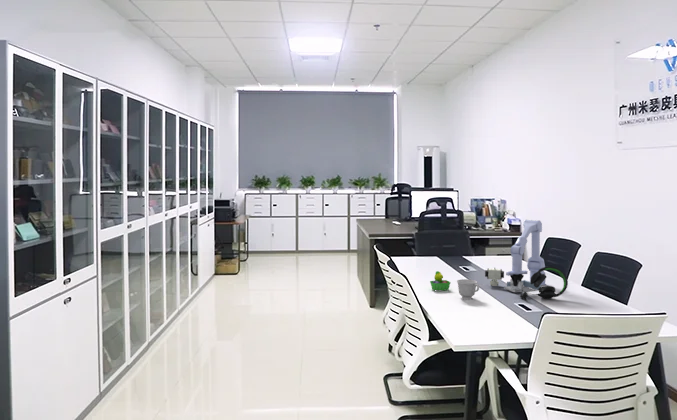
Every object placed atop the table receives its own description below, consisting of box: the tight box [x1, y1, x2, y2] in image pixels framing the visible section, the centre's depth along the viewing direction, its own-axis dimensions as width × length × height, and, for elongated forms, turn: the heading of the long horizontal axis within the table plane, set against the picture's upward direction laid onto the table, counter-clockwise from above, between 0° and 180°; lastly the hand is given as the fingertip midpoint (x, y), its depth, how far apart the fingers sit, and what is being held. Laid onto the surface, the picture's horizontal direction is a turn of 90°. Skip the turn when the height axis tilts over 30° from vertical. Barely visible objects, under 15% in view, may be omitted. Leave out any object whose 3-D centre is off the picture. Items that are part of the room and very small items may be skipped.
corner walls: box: [506, 279, 542, 292], centre depth 309 cm, size 14×15×4 cm
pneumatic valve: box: [484, 267, 505, 287], centre depth 318 cm, size 6×12×12 cm, turn 72°
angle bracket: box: [504, 278, 524, 293], centre depth 301 cm, size 10×6×6 cm, turn 19°
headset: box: [519, 265, 569, 301], centre depth 283 cm, size 18×14×29 cm
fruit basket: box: [429, 270, 451, 291], centre depth 308 cm, size 11×9×11 cm
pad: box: [522, 286, 538, 293], centre depth 307 cm, size 11×12×1 cm
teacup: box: [456, 278, 480, 300], centre depth 285 cm, size 12×15×10 cm
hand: (516, 286), depth 302 cm, fingers closed on angle bracket
